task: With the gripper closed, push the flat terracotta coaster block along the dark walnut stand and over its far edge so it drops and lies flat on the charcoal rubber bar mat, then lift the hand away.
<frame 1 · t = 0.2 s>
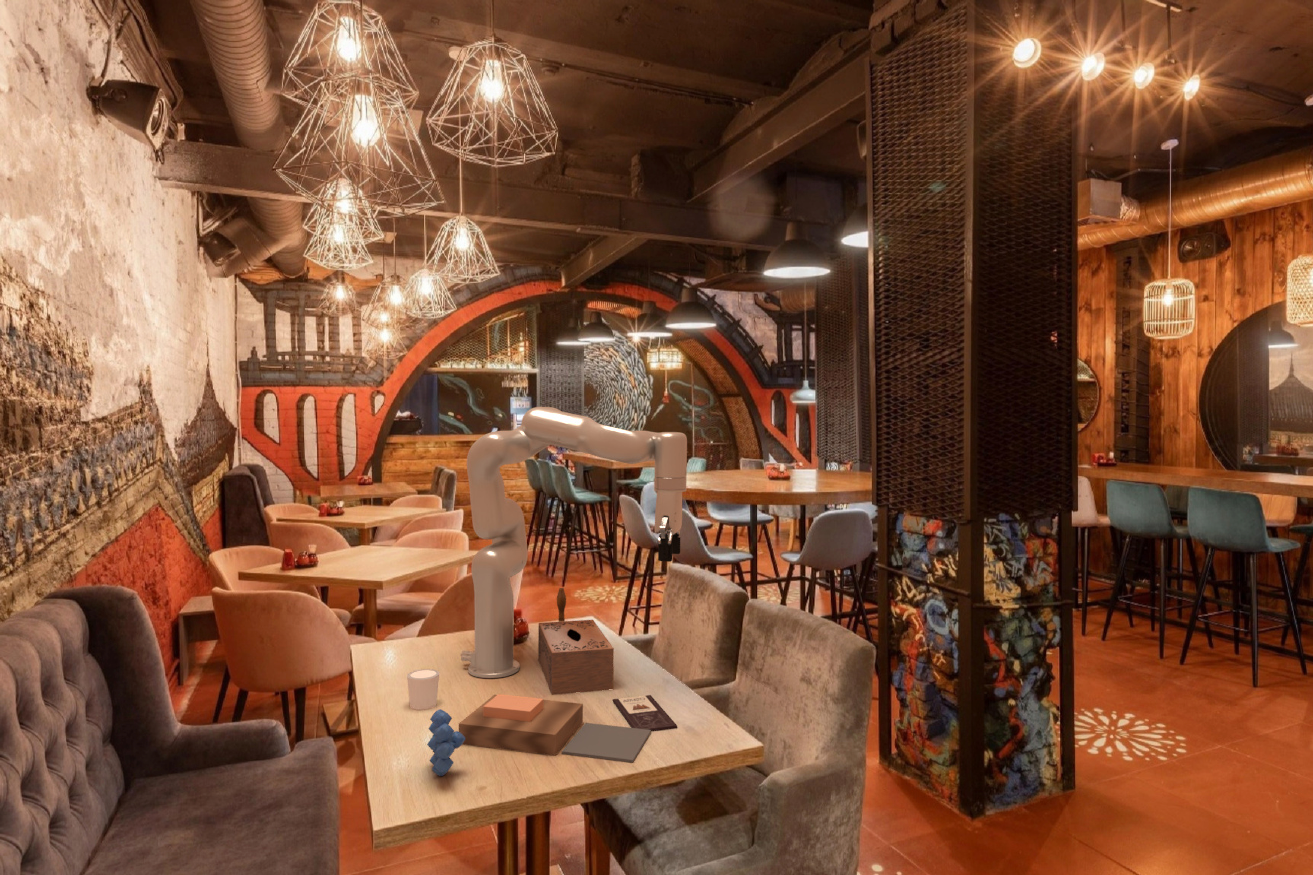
hand: (669, 557, 181), 31 cm above the table, tool pointing down, fingers open, 9 cm apart
coaster: (513, 712, 156), point 4 cm above the table, touching stand
pale tapered cup: (423, 706, 170), on the table
stand: (522, 732, 156), on the table
grapes: (446, 775, 138), on the table
bar mat: (608, 742, 152), on the table
chocolate bar: (643, 717, 166), on the table
hand bell: (561, 646, 214), on the table
tissue box cover: (573, 675, 192), on the table
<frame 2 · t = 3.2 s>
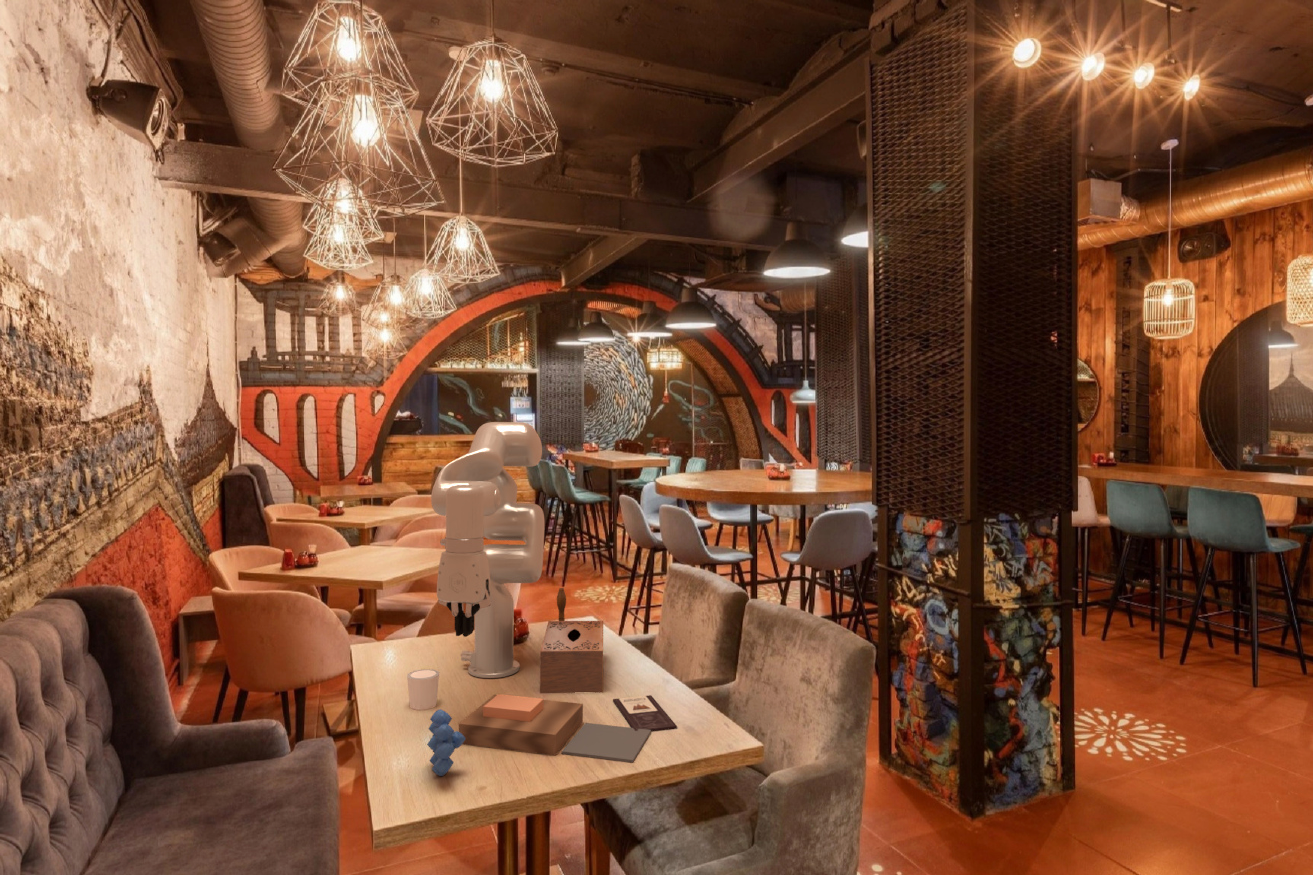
hand: (464, 634, 158), 19 cm above the table, tool pointing down, fingers closed
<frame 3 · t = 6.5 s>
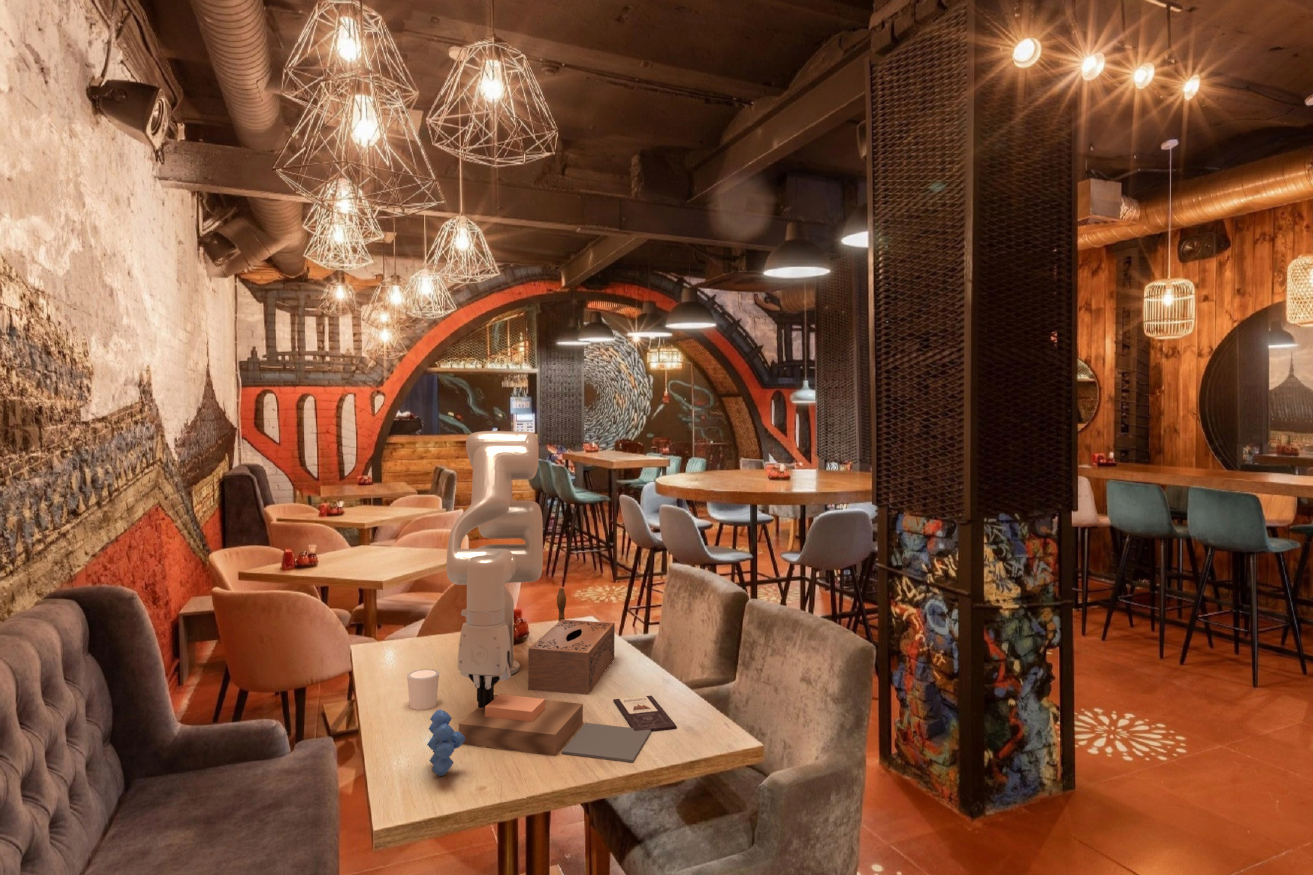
hand: (485, 705, 158), 5 cm above the table, tool pointing down, fingers closed
coaster: (515, 712, 156), point 4 cm above the table, touching gripper, stand
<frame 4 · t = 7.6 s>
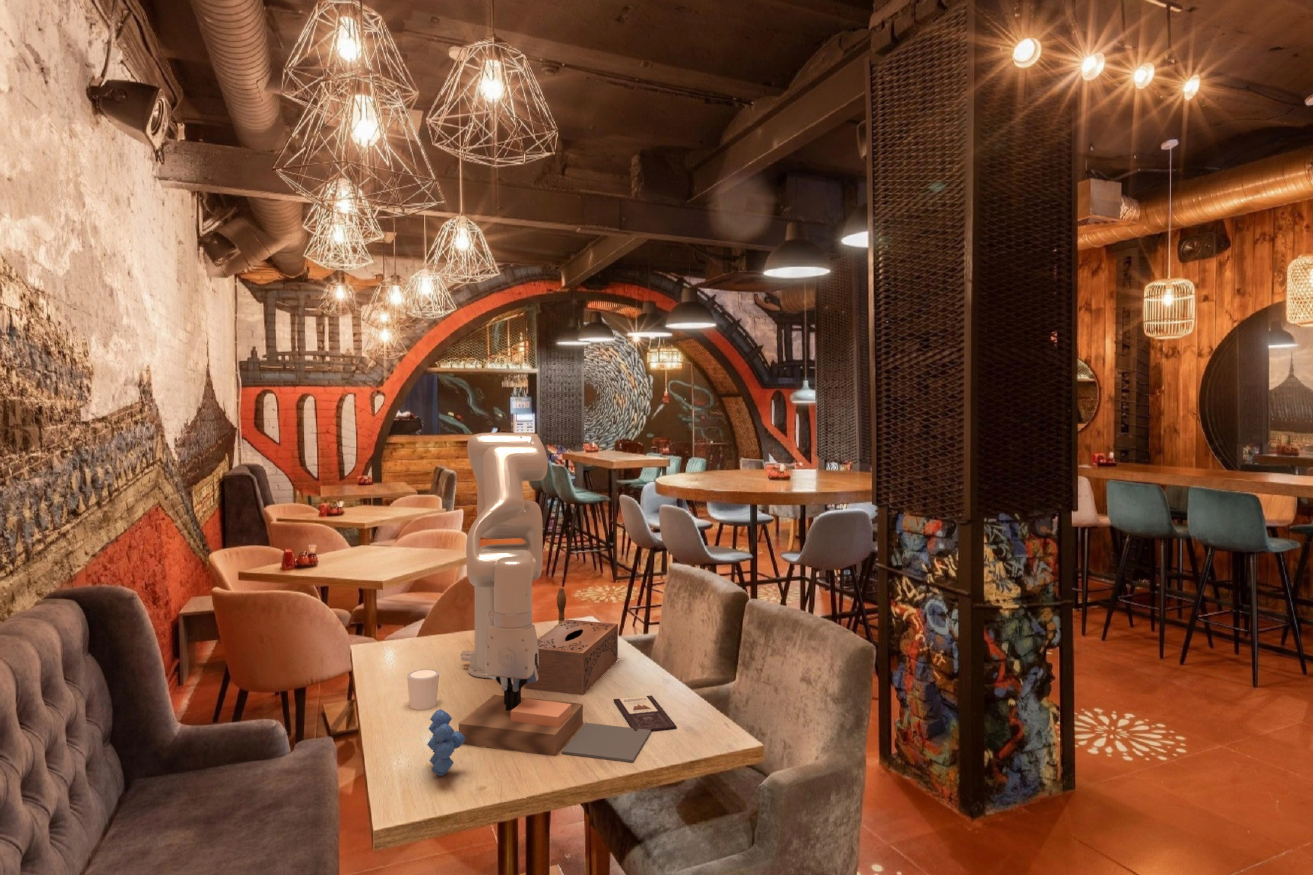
hand: (512, 708, 156), 5 cm above the table, tool pointing down, fingers closed
coaster: (541, 717, 154), point 4 cm above the table, touching gripper, stand
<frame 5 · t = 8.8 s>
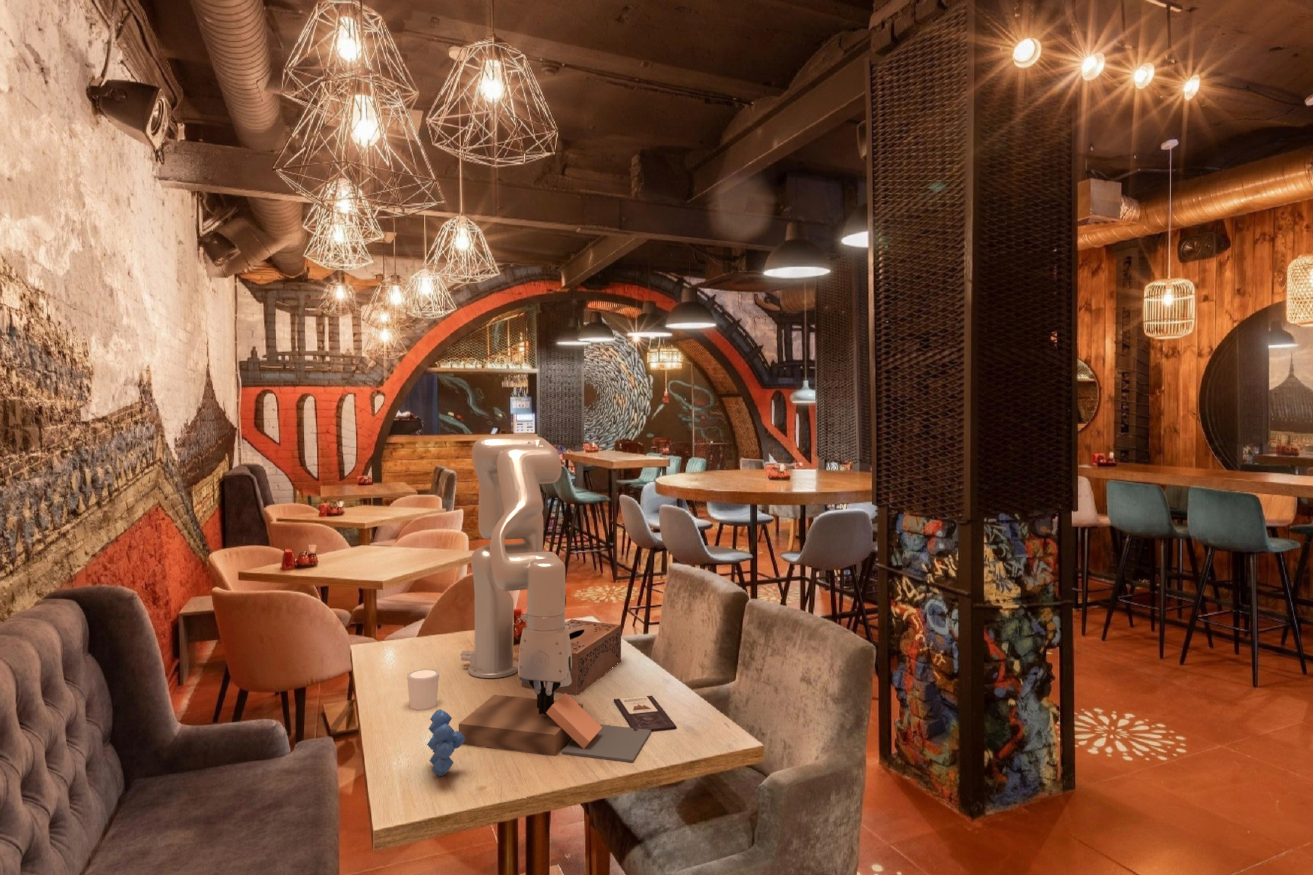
hand: (545, 711, 155), 5 cm above the table, tool pointing down, fingers closed
coaster: (571, 723, 152), point 4 cm above the table, tilted 38°, touching bar mat
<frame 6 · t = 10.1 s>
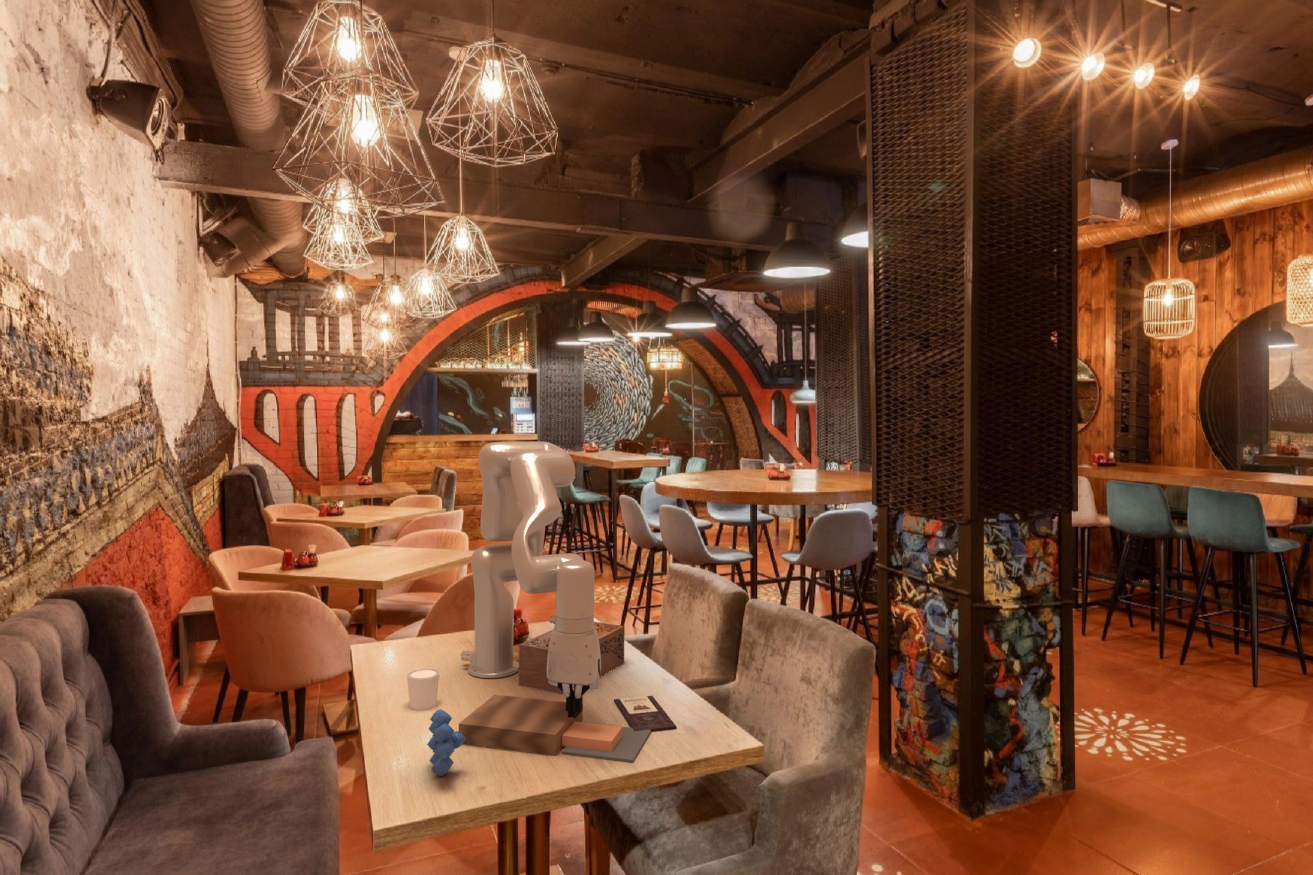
hand: (574, 715, 153), 5 cm above the table, tool pointing down, fingers closed
coaster: (592, 741, 151), resting on bar mat
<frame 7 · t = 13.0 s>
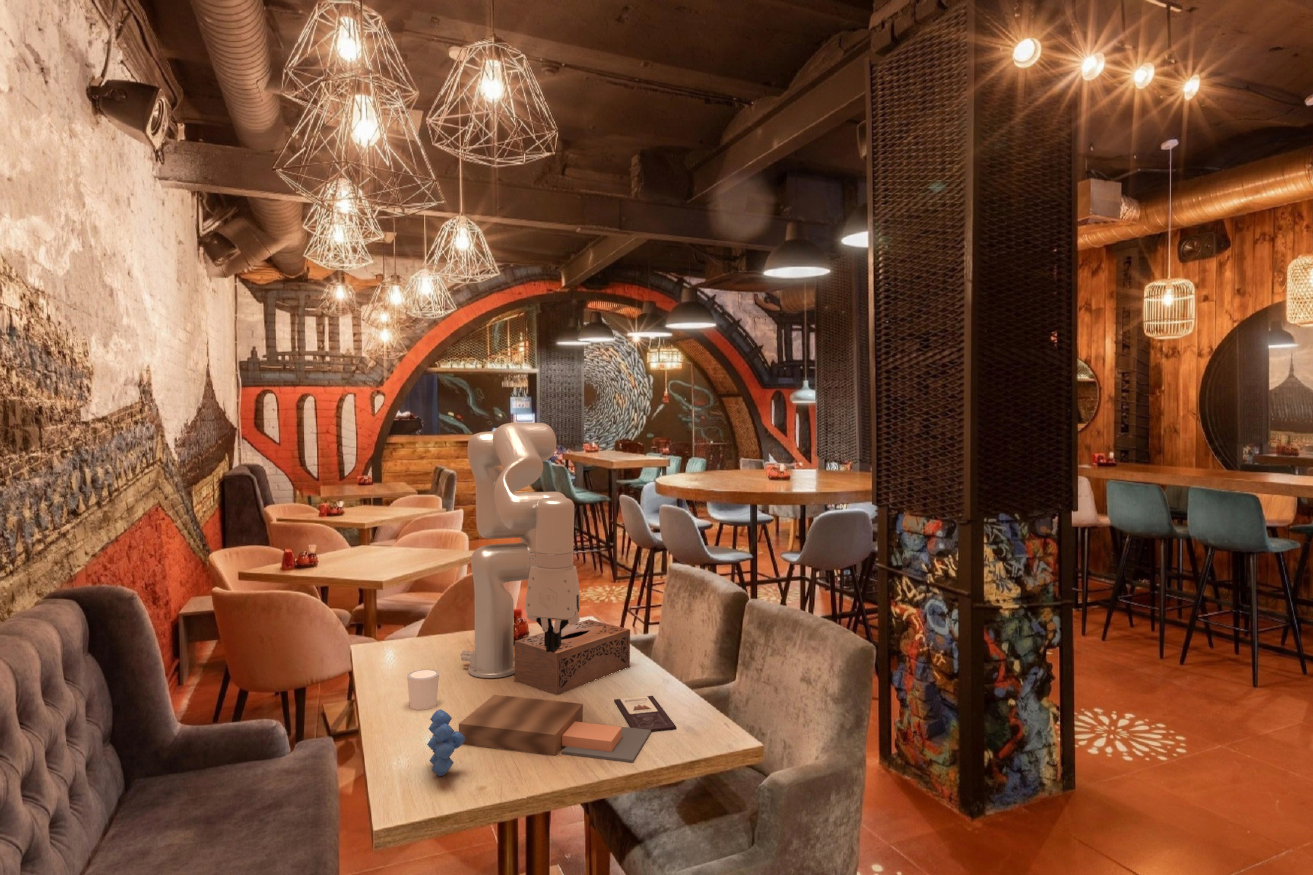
hand: (552, 650, 155), 17 cm above the table, tool pointing down, fingers closed
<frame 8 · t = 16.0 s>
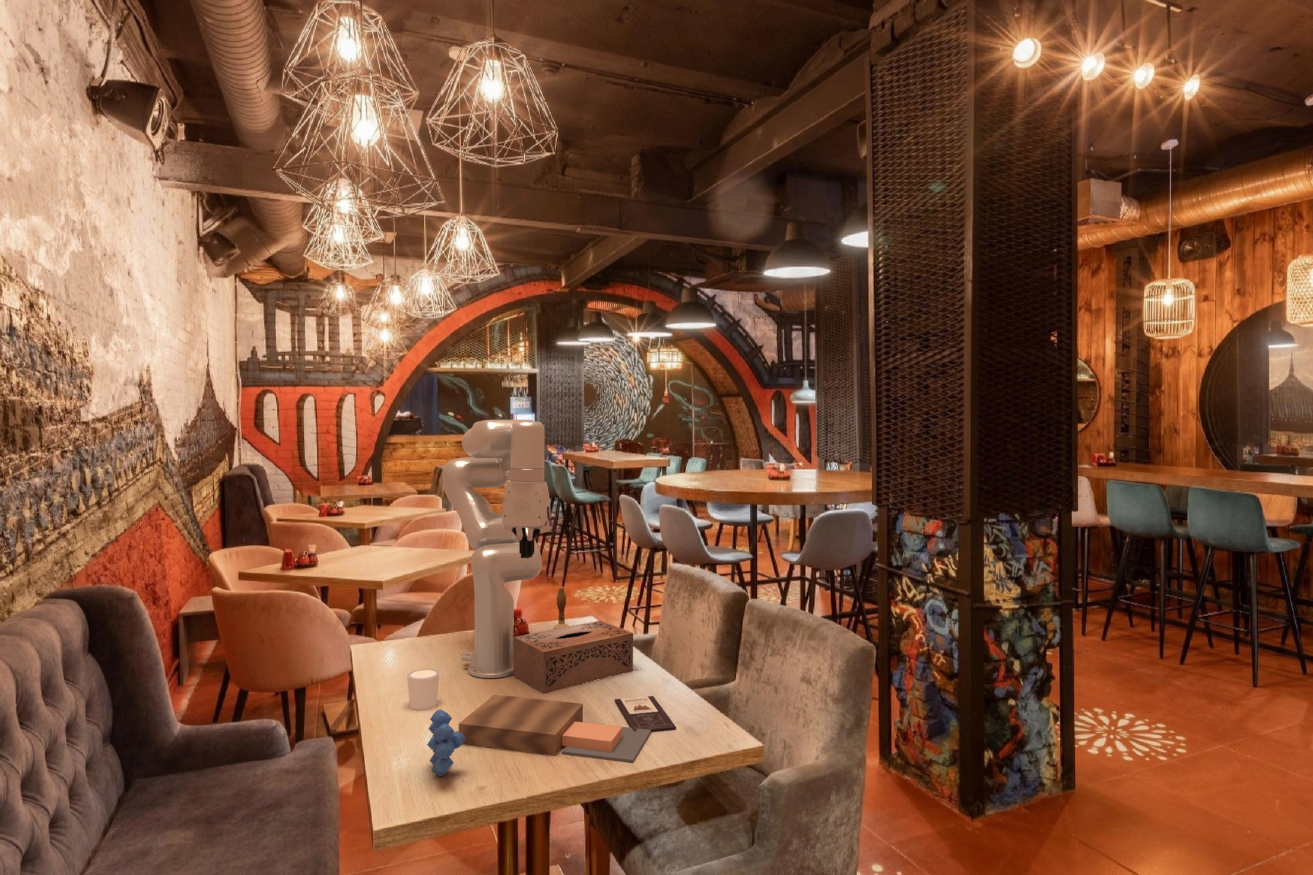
hand: (526, 557, 174), 32 cm above the table, tool pointing down, fingers closed
at the end: coaster inside the target area (3.5 cm from its centre), point 0.5 cm above the table; coaster tilted 0°; coaster moved 17.6 cm from its start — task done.
